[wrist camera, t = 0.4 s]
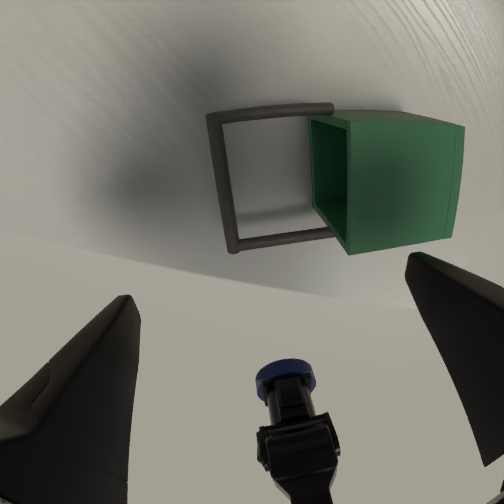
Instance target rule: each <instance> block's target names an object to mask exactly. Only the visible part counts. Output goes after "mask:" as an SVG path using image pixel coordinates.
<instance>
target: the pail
mask: <svg viewBox="0 0 504 504" xmlns="http://www.w3.org/2000/svg"><path fill="white" fill-rule="evenodd" d="M307 115H308V125H309V139H310V155H311V173H312V196H313V208H314V209H315V210H316V212H317V213H318V214H319V215H320V217H321V218H322V219H323V221H324V222H325V223H326V225H327V226H328V227H323V228H316V229H309V230H302V231H294V232H287V233H280V234H273V235H266V236H260V237H253V238H246V239H239V236H238V229H237V223H236V216H235V209H234V203H233V196H232V189H231V183H230V176H229V169H228V162H227V155H226V148H225V141H224V135H223V127H222V124H227V123H234V122H242V121H250V120H258V119H268V118H279V117H292V116H307ZM205 117H206V123H207V130H208V136H209V143H210V149H211V155H212V162H213V168H214V174H215V180H216V186H217V192H218V198H219V204H220V210H221V216H222V222H223V227H224V233H225V239H226V244H227V250H228V253H230V254H236V253H239V252H240V251H243V250H250V249H257V248H263V247H270V246H277V245H284V244H291V243H297V242H304V241H311V240H318V239H325V238H331V237H336V238H337V240H338V241H339V243H340V244H341V245H342V247H343V248H344V250H346V252H347V254H348V255H354V254H360V253H366V252H372V251H378V250H384V249H389V248H395V247H401V246H407V245H412V244H418V243H423V242H429V241H434V240H440V239H446V238H451V237H452V232H453V227H454V222H455V216H456V210H457V204H458V198H459V191H460V183H461V174H462V165H463V152H464V135H465V127H463V126H460V125H456V124H453V123H449V122H445V121H441V120H437V119H433V118H429V117H425V116H420V115H415V114H411V113H406V112H398V111H376V110H334V106H333V104H332V103H301V104H285V105H272V106H262V107H252V108H244V109H236V110H228V111H221V112H213V113H208V114H205Z"/></svg>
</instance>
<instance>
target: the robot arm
mask: <svg viewBox="0 0 504 504" xmlns="http://www.w3.org/2000/svg"><path fill="white" fill-rule="evenodd" d="M405 280H406V282H407V285H408V287H409V289H410V291H411V294H412V296H413V298H414V301H415V303H416V305H417V308H418V310H419V312H420V314H421V317H422V319H423V320H424V322H425V324H426V326H427V328H428V330H429V332H430V334H431V336H432V338H433V340H434V342H435V344H436V346H437V348H438V350H439V352H440V354H441V356H442V358H443V361H444V363H445V365H446V367H447V369H448V371H449V374H450V376H451V378H452V380H453V383H454V385H455V387H456V389H457V392H458V394H459V397H460V399H461V402H462V404H463V407H464V409H465V412H466V414H467V416H468V420H469V423H470V425H471V428H472V431H473V434H474V437H475V440H476V442H477V446H478V449H479V452H480V455H481V459H482V462H483V464H484V467H486V466H488V465H489V464H491V463H492V462H493V461H495V460H496V459H498V458H499V457H500V456H502V455H503V454H504V288H503V287H501V286H499V285H497V284H495V283H493V282H491V281H488V280H486V279H484V278H482V277H479V276H477V275H475V274H473V273H471V272H468V271H466V270H464V269H461V268H459V267H457V266H454V265H452V264H450V263H447V262H445V261H443V260H440V259H438V258H435V257H433V256H430V255H428V254H425V253H423V252H414V253H411V254H410V255H409V257H408V261H407V266H406V271H405ZM140 325H141V318H140V314H139V311H138V309H137V307H136V305H135V302H134V300H133V298H132V296H131V295H121V296H118V297H116V298H115V299H114V300H113V301H112V302H111V303H110V304H109V305H107V306H106V307H105V308H104V309H103V310H102V311H101V312H100V313H99V314H98V315H96V316H95V318H93V319H92V320H91V321H90V322H89V323H88V324H87V325H86V326H85V327H84V328H82V330H80V331H79V332H78V333H77V334H76V335H75V336H74V337H73V338H72V339H71V340H70V341H69V342H68V343H67V344H66V345H65V346H64V347H63V348H62V349H60V350H59V351H58V352H57V353H56V354H55V355H54V356H53V357H52V358H51V359H50V360H49V363H46V364H45V365H44V366H43V367H42V368H41V369H40V370H39V371H38V372H37V373H36V374H35V375H34V376H33V377H32V378H31V379H30V380H29V381H28V382H27V383H26V384H24V385H23V386H22V387H21V388H20V389H19V390H18V391H17V392H16V393H14V394H13V395H12V396H11V397H10V398H9V399H8V400H7V401H5V402H4V403H3V404H2V405H1V406H0V504H127V491H128V483H127V482H128V461H129V446H130V432H131V422H132V412H133V402H134V394H135V386H136V379H137V372H138V364H139V345H140ZM311 381H312V375H311V373H303V374H298V375H293V376H287V377H281V378H275V379H269V380H264V381H262V382H261V383H262V389H263V395H264V401H265V405H266V406H268V407H269V413H270V420H271V425H270V426H265V427H264V426H261V427H259V429H260V431H259V432H257V433H256V434H257V443H258V448H257V460H258V462H260V463H261V464H262V465H263V467H264V468H265V471H266V472H267V471H270V474H271V477H272V479H273V481H274V483H275V485H276V487H277V488H278V489H279V490H280V491H281V492H282V493H283V494H284V495H285V496H286V497H288V499H290V500H291V504H333V502H332V498H331V494H330V488H331V486H332V484H333V481H334V478H335V476H336V472H337V465H338V459H337V457H338V456H340V446H339V441H338V437H337V435H336V432H335V429H334V426H333V424H332V421H331V419H330V416H329V413H328V412H327V413H324V414H321V415H317V416H316V414H315V410H314V406H313V403H312V400H311ZM500 491H501V493H500V494H499V495H497V496H496V497H495V498H493V499H492V500H491V501H489V502H488V503H487V504H504V480H503V483H502V487H501V490H500Z"/></svg>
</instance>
